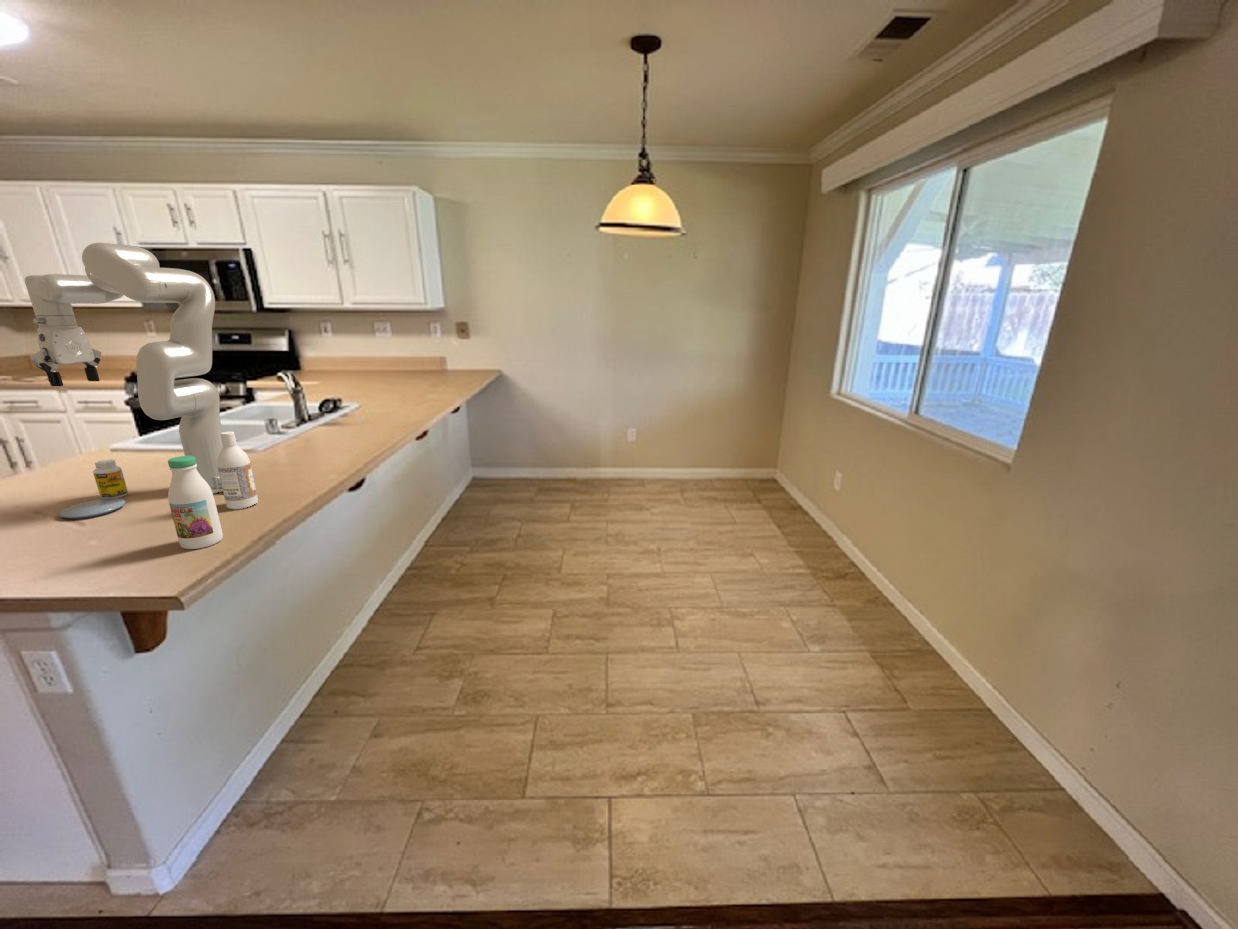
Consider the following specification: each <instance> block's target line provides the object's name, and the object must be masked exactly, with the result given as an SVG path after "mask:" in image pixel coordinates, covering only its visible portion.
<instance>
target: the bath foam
mask: <svg viewBox="0 0 1238 929" xmlns="http://www.w3.org/2000/svg"><path fill="white" fill-rule="evenodd" d="M220 435H221V440H222V444H223V448H222V450H221V452H220V454H219V456H218V459H217V466H218V471H219V476H220V480H221V484H222V489H223V492H222V493H223V496H224V501H225V505H226V508H228V509H230V510H242V509H243V508H244V509H247V507H248V508H251V507H253V506H252V505H254V504H256V503H257V504H258V503H259V499H258V497H259V496H258V492H257V489H256V488H257V487H256V483H255V477H254V474H253V469H252V464H251V460H250V458H249V456H248V454H247V453H246V452H245V451H244V449H242V448H241V447H240V446H239V445H237V444H238V442H237V440H236V436H235V432H234V431H230V430H229V431H223V432H222V433H220ZM257 504H256V505H257ZM250 506H251V507H250ZM254 506H255V505H254Z"/></svg>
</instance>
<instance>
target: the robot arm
mask: <svg viewBox="0 0 1238 929" xmlns="http://www.w3.org/2000/svg"><path fill="white" fill-rule="evenodd" d="M157 258H158V257H156V256H155V255H154V254H153V253H152V252H150V251H149V250H148V249H146V248H143V247H140V246H137V245H131V244H119V243H109V242H93V243H91V244H90V243H89V244H88V245H87V246H85V247H84V248H83V251H82V253H81V260H82V264H83V266H84V273H85V274H86V275H84V274H82V275H81V274H61V273H60V274H59V273H50V274H49V273H48V274H41V275H39V274H37V275H35V274H32V275H27V276H25V277H24V283H25V284H24V285H25V287H26V289H27V293H28V297H29V299H30V303H31V305H32V309H33V313H34V316H35V317H36V318H33V319H32V322H33V324H38V327H37V330H36V334H37V341H38V346H39V347H38V348H39V351H37V352H36V353H34V354H33V355H31V356H30V357H29V359H30V360H31V361H32V363H33V364H35V366H36V367H37V368H39V369H41V371H42V372H44V373H46V376H47V380H48V382H49V385H50V386H51V387H63V386H64V382H63V380H62V376H61V373H60V372H59V371H57V370H58V369H59V367H60V365H72V364H82V365H83V366H85V367H84V373H85V375H86V379H87V381H88V382H100V380H101V379H100V377H99V372H98V370H97V368H98V367H99V363H100V362H101V356H102V352H101V351H100V350H97V349H94V348H92V346H91V343H90V341H89V339H88V337H87V334H86V333H85V331H84V329H83V328H82V327H81V326H78V323H77V319H76V317H75V313H74V309H73V306H72V304H73V305H74V304H86V305H87V304H91V305H92V304H93V305H94V304H96V305H97V304H106V303H109V302H113V301H116V300H118V299H121V298H122V297H124V296H125V297H127V298H128V299H130V300H132V301H136V302H139V303H145V304H148V303H150V304H152V303H154V304H160V303H161V304H167V303H168V304H175V303H176V304H179V307H178V308H177V309H176V310H175V312H174V313H173V315H172V317H171V319H170V323H169V329H170V333H169V334H170V336H169V339H168V340H165V341H153V342H149V343H146V344H144V345H142V346H141V348H139V350H138V352H137V354H136V360H135V361H136V379H137V393H138V395H137V397H138V401H139V405H140V408H141V409H142V411H143V413H144V414H145V415H146V416H147V417H149V418H151V419H153V420H157V421H166V420H172V419H176V418H180V421H179V426H178V431H179V433H178V434H179V437H180V442H181V447H182V449H183V450H182V451H183V454H184V455H183V456H194V457H195V459H196V465H197V466H196V469H197V471H198V473H199V474H200V475H201V477H202V478H203V479H204V480H205V481H206V482H207V483H208V485H209V486H210V488H211V490H212V493H213V495H214V494H219V493H223V489H222V484H221V480H220V476H219V471H218V466H217V459H218V456H219V454H220V452H221V450H222V448H223V444H222V440H221V435H220V433H222V432H224V431H223V426H222V422H221V413H220V410H221V409H220V405H221V404H220V400H221V399H220V393H219V391H218V389H217V387H216V385H214V384H213V383H212V382H211V381H209V380H206V379H204V378H199V377H198V376H202V375H205V374H207V373H209V372H210V371H211V369H212V366H213V320H214V315H215V311H216V310H215V309H216V298H215V294H214V291H213V288H212V287H211V284H209V282H208V281H207V280H206V279H205V278H204V277H203V276H202V275H200V274H199V273H196V272H194V271H191V270H186V269H181V268H174V267H173V268H171V267H160V262H159V260H158V259H157ZM43 361H44V362H43ZM196 376H197V377H198V378H197V377H196ZM190 377H193V378H190ZM194 377H195V378H194ZM182 378H184V379H182ZM218 492H219V493H218Z"/></svg>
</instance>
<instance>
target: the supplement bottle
mask: <svg viewBox="0 0 1238 929" xmlns="http://www.w3.org/2000/svg"><path fill="white" fill-rule="evenodd" d="M94 465H95V469H93V471H92V473H93V476H94V480H95V484H96V487H97V490H98V493H99V496H100V498H101V499H111V498H117V499H121V498H123V497H125V496H127V495H128V493H129V491H128V487H127V484H126V481H125V480H126V479H125V477H124V473H123V470H122V467H121V466H119V465H117V463H116V460H115V459H113V458H112V459H102V460H101V459H100V460H97V461H95V462H94Z"/></svg>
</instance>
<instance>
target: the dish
mask: <svg viewBox="0 0 1238 929" xmlns="http://www.w3.org/2000/svg"><path fill="white" fill-rule="evenodd" d="M125 505H126V500H124V499H123V498H111V499H102V498H101V499H94V500H87V501H84V502H81V503H77V504H74V505H70V506H67V507H65V508H63V509H62V510H60V511H59V513H58V514H59V516H60V517H61V518H65V519H66V518H67V519H77V520H78V519H79V520H80V519H90V518H95V517H99V516H103V515H107V514H110V513H113V512H115V511H117V510H118V509H121V508H122V507H124V506H125Z"/></svg>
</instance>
